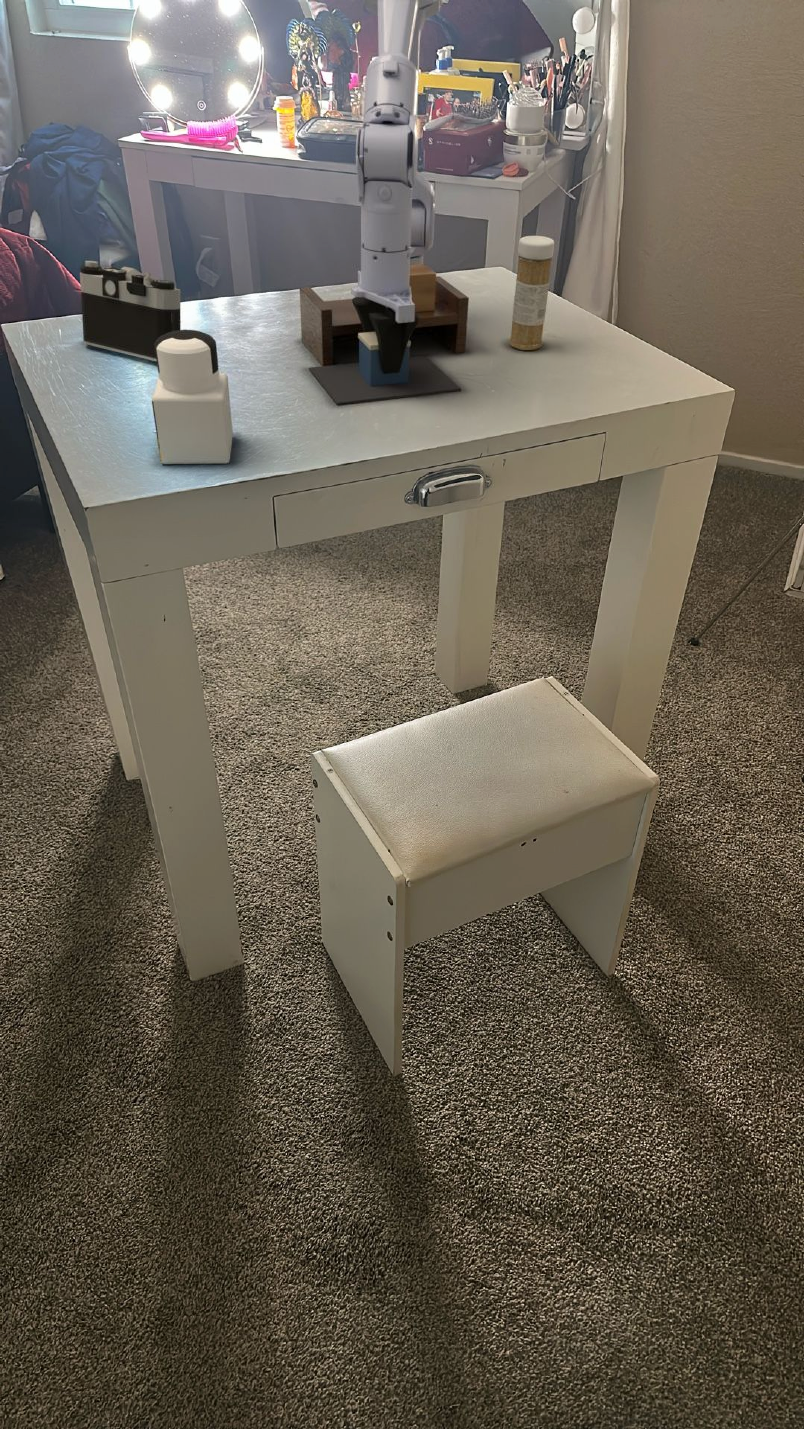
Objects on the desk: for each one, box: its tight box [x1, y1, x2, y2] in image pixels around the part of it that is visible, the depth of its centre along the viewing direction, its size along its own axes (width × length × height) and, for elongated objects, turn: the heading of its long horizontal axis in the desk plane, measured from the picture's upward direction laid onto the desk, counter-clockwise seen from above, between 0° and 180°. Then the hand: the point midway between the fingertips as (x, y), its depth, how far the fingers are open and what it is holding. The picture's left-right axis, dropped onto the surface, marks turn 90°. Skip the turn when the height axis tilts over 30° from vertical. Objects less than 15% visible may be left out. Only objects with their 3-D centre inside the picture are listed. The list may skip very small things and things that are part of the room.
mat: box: [308, 355, 462, 406], centre depth 117 cm, size 12×16×1 cm
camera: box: [79, 260, 182, 362], centre depth 121 cm, size 15×11×10 cm
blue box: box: [357, 332, 412, 386], centre depth 115 cm, size 5×5×5 cm
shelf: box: [299, 276, 470, 366], centre depth 124 cm, size 10×20×7 cm, turn 111°
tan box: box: [409, 263, 437, 312], centre depth 122 cm, size 4×4×5 cm
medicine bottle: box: [151, 329, 234, 465], centre depth 96 cm, size 7×7×12 cm
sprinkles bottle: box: [509, 235, 555, 351], centre depth 124 cm, size 5×5×13 cm
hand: (383, 365), depth 116 cm, fingers closed on blue box, 4 cm apart
